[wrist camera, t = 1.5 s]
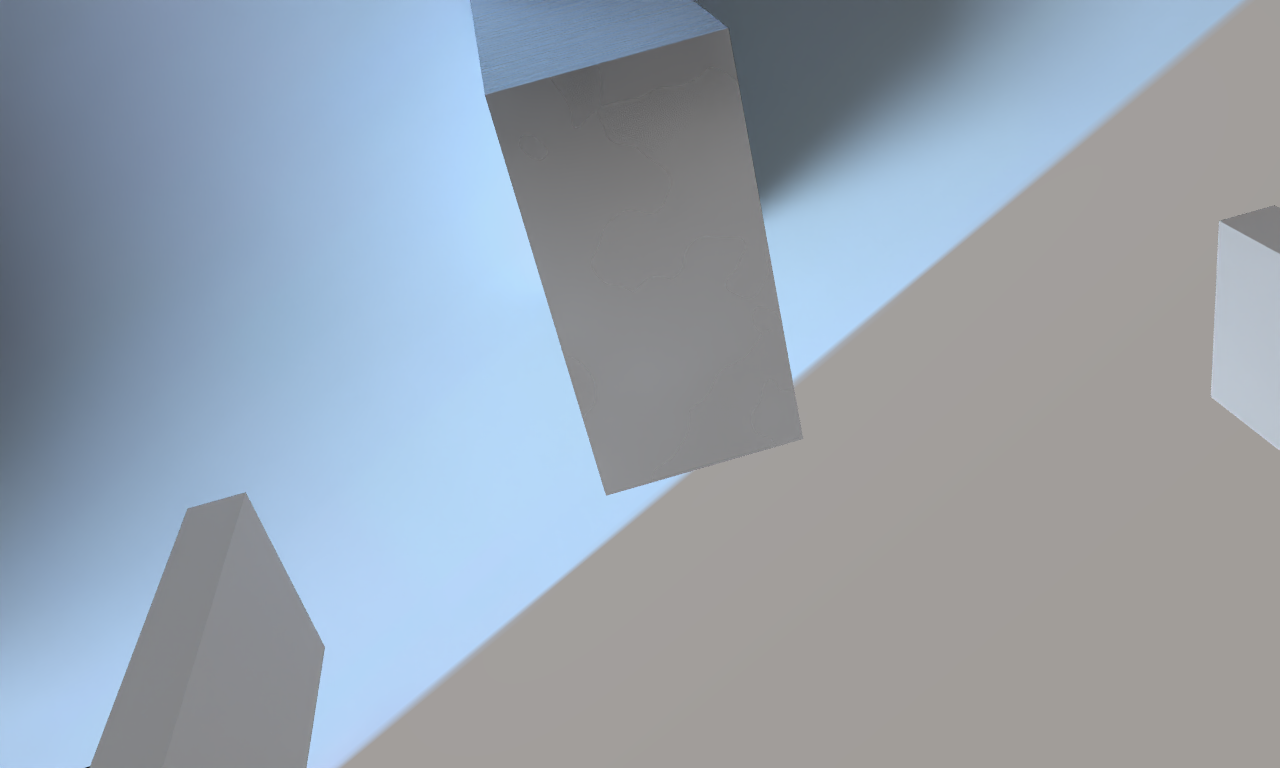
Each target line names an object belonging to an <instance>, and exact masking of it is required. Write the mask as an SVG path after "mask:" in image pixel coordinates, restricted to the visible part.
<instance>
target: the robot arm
mask: <svg viewBox="0 0 1280 768" xmlns="http://www.w3.org/2000/svg"><path fill="white" fill-rule="evenodd" d="M1211 397H1212V398H1213V399H1214V400H1216V401H1217V402H1218V403H1220V404H1221V405H1222V406H1223V407H1225V408H1226V409H1227V410H1228V411H1230V412H1231V413H1232V414H1234V415H1235V416H1236V417H1237V418H1239V419H1240V420H1241V421H1243V422H1244V423H1245V424H1247V425H1248V426H1249V427H1250V428H1252V429H1253V430H1254V431H1255V432H1257V433H1258V434H1259V435H1261V436H1262V437H1263V438H1264V439H1266V440H1267V441H1268V442H1269V443H1271V444H1272V445H1273V446H1274V447H1276V448H1277V449H1278V450H1280V208H1279V207H1277V206H1275V205H1274V206H1271V207H1267V208H1264V209H1260V210H1256V211H1253V212H1250V213H1246V214H1242V215H1238V216H1235V217H1231V218H1228V219H1224V220H1221V221H1219V235H1218V255H1217V277H1216V300H1215V319H1214V341H1213V362H1212V384H1211ZM324 649H325V647H324V645H323V643H322V641H321V639H320V637H319V635H318V633H317V631H316V629H315V627H314V625H313V623H312V621H311V619H310V617H309V615H308V613H307V611H306V609H305V607H304V606H303V604H302V602H301V600H300V598H299V596H298V594H297V592H296V590H295V588H294V586H293V584H292V582H291V580H290V578H289V576H288V574H287V572H286V570H285V568H284V566H283V564H282V562H281V561H280V559H279V557H278V555H277V553H276V551H275V549H274V547H273V545H272V543H271V541H270V539H269V537H268V535H267V533H266V531H265V529H264V527H263V525H262V523H261V521H260V519H259V517H258V516H257V514H256V512H255V510H254V508H253V506H252V504H251V502H250V500H249V498H248V496H247V494H246V492H245V493H242V494H238V495H235V496H231V497H228V498H224V499H220V500H217V501H213V502H210V503H206V504H202V505H199V506H195V507H192V508H188V509H187V512H186V514H185V517H184V520H183V522H182V525H181V527H180V530H179V533H178V535H177V538H176V541H175V543H174V546H173V549H172V551H171V554H170V557H169V559H168V562H167V565H166V567H165V570H164V572H163V575H162V578H161V580H160V583H159V586H158V588H157V591H156V594H155V596H154V599H153V602H152V604H151V607H150V609H149V612H148V615H147V617H146V620H145V623H144V625H143V628H142V631H141V633H140V636H139V639H138V641H137V644H136V646H135V649H134V652H133V654H132V657H131V660H130V662H129V665H128V668H127V670H126V673H125V676H124V678H123V681H122V684H121V686H120V689H119V691H118V694H117V697H116V699H115V702H114V705H113V707H112V710H111V713H110V715H109V718H108V721H107V723H106V726H105V728H104V731H103V734H102V736H101V739H100V742H99V744H98V747H97V750H96V752H95V755H94V758H93V760H92V763H91V766H89V767H86V768H306V767H307V760H308V754H309V747H310V741H311V734H312V728H313V721H314V715H315V708H316V702H317V695H318V689H319V682H320V676H321V669H322V662H323V656H324Z"/></svg>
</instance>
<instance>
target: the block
mask: <svg viewBox="0 0 1280 768" xmlns="http://www.w3.org/2000/svg"><path fill="white" fill-rule="evenodd" d="M470 2H471V8H472V14H473V21H474V27H475V34H476V40H477V47H478V53H479V60H480V66H481V72H482V79H483V85H484V92H485V97H486V100H487V103H488V107H489V110H490V113H491V116H492V120H493V123H494V126H495V130H496V133H497V136H498V140H499V143H500V146H501V150H502V153H503V156H504V159H505V163H506V166H507V169H508V173H509V176H510V179H511V183H512V186H513V189H514V193H515V196H516V199H517V202H518V206H519V209H520V212H521V216H522V219H523V222H524V226H525V229H526V232H527V236H528V239H529V242H530V245H531V249H532V252H533V255H534V259H535V262H536V265H537V269H538V272H539V275H540V279H541V282H542V285H543V288H544V292H545V295H546V298H547V302H548V305H549V308H550V312H551V315H552V318H553V322H554V325H555V328H556V331H557V335H558V338H559V341H560V345H561V348H562V351H563V355H564V358H565V361H566V364H567V368H568V371H569V374H570V378H571V381H572V384H573V388H574V391H575V394H576V398H577V401H578V404H579V407H580V411H581V414H582V417H583V421H584V424H585V427H586V431H587V434H588V437H589V441H590V444H591V447H592V450H593V454H594V457H595V460H596V464H597V467H598V470H599V474H600V477H601V480H602V484H603V487H604V490H605V493H606V495H610V494H613V493H617V492H620V491H624V490H627V489H631V488H634V487H638V486H641V485H644V484H648V483H651V482H655V481H658V480H662V479H665V478H669V477H672V476H676V475H679V474H683V473H686V472H690V471H693V470H697V469H700V468H704V467H707V466H710V465H714V464H717V463H721V462H724V461H728V460H731V459H735V458H738V457H742V456H745V455H749V454H752V453H756V452H759V451H763V450H766V449H770V448H773V447H776V446H780V445H784V444H787V443H790V442H794V441H797V440H801V439H803V436H802V431H801V425H800V420H799V414H798V409H797V403H796V398H795V392H794V387H793V381H792V375H791V370H790V364H789V359H788V353H787V348H786V342H785V337H784V331H783V326H782V320H781V315H780V309H779V304H778V298H777V293H776V287H775V282H774V276H773V271H772V265H771V260H770V254H769V249H768V243H767V238H766V232H765V226H764V221H763V215H762V210H761V204H760V199H759V193H758V188H757V182H756V177H755V171H754V166H753V160H752V155H751V149H750V144H749V138H748V133H747V127H746V122H745V116H744V111H743V105H742V100H741V94H740V89H739V83H738V78H737V72H736V66H735V61H734V55H733V50H732V44H731V39H730V33H729V28H728V27H727V26H725V25H724V24H723V23H721V22H720V21H719V20H717V19H716V18H715V17H714V16H712V15H711V14H710V13H708V12H707V11H706V10H705V9H703V8H702V7H701V6H699V5H698V4H697V3H695V2H694V1H693V0H470Z"/></svg>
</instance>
